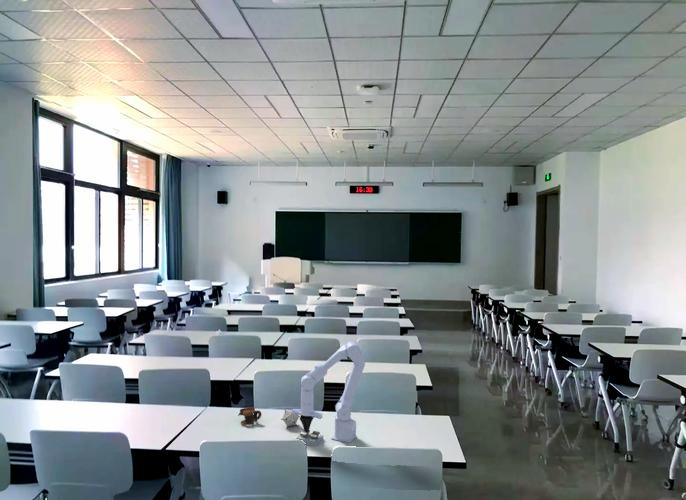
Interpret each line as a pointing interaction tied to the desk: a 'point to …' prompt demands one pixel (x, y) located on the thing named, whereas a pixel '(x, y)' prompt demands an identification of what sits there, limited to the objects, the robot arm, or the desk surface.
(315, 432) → the rocker
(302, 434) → the rocker
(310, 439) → the switch panel
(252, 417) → the pottery mug
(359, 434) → the desk surface
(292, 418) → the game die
